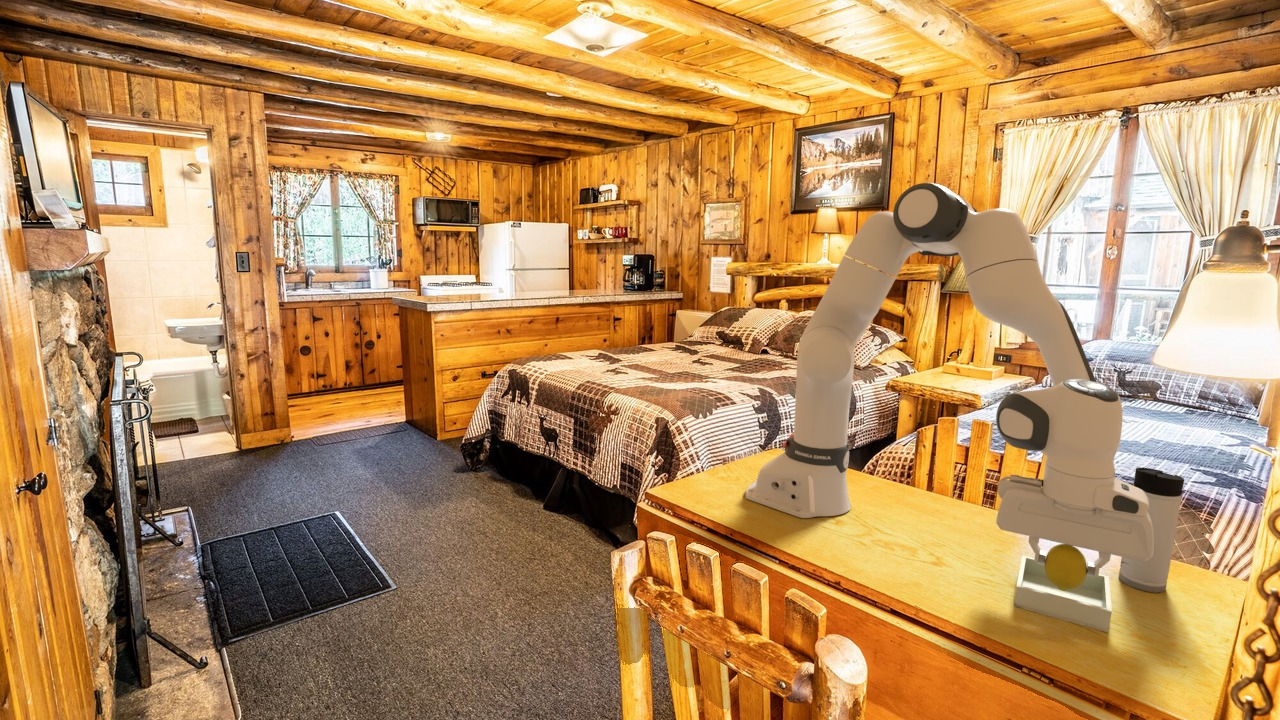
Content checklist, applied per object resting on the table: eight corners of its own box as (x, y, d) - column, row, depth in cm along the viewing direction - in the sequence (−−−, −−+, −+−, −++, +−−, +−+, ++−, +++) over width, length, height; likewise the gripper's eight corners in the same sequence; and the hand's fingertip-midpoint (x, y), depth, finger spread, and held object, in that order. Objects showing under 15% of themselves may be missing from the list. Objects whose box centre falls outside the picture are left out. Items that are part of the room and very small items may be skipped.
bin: (1014, 606, 99) (1016, 586, 99) (1020, 573, 109) (1022, 555, 108) (1108, 632, 93) (1111, 611, 92) (1105, 595, 102) (1108, 576, 102)
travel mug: (1109, 578, 107) (1126, 466, 104) (1132, 570, 110) (1149, 461, 106) (1150, 597, 102) (1170, 479, 98) (1174, 588, 105) (1194, 473, 101)
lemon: (1090, 601, 97) (1097, 553, 96) (1050, 597, 98) (1057, 549, 97) (1073, 583, 103) (1079, 537, 101) (1035, 579, 104) (1041, 534, 102)
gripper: (997, 478, 100) (988, 558, 103) (1162, 508, 89) (1147, 597, 92) (1001, 466, 106) (992, 543, 108) (1158, 494, 94) (1144, 578, 97)
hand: (1065, 568), depth 100 cm, fingers closed on lemon, 5 cm apart
